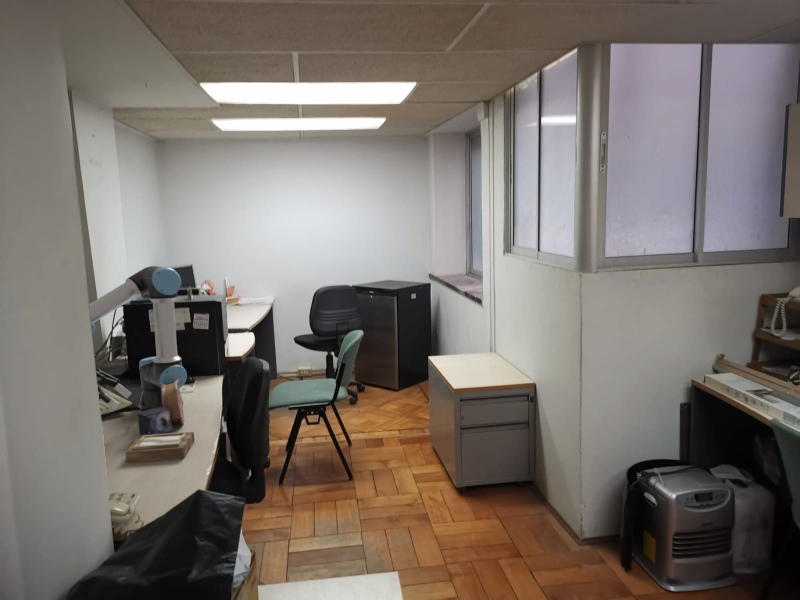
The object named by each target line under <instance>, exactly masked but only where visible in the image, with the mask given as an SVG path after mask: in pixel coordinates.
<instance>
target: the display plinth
mask: <svg viewBox="0 0 800 600" xmlns="http://www.w3.org/2000/svg"><path fill="white" fill-rule="evenodd" d="M194 441H195V431H183V432H172V433H167V434H153V435H143V436H140V435H139V436H138V438H136V439H135V440H134V441H133V443H132V444H131V445H130V446H129V447H128V449H126V451H124V455H125V461H126V464H128V463H129V464H130V462H133V463H143V462H144V461H146V462H157V460H159V461H169V459H171V460H182V459H183V460H184V459H185V458H186V456H187V455H188V453H189V451H190V450H191V449H190V448H192V447H193V445H194V444H195V442H196V441H195V442H194ZM193 443H194V444H193ZM191 446H192V447H191ZM144 463H145V462H144Z"/></svg>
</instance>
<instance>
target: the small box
mask: <svg viewBox="0 0 800 600" xmlns="http://www.w3.org/2000/svg"><path fill="white" fill-rule="evenodd" d="M137 420H138V430H139V431H138V432H139V436H143V435H153V434H167V433H171V432H172V427H171V421H170V409H169V408H166V407H163V406H159V407H155V408H152V409H149V410H146V411H142V410H141V411H139V412H137ZM172 433H173V432H172Z"/></svg>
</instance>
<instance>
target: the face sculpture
mask: <svg viewBox="0 0 800 600" xmlns="http://www.w3.org/2000/svg"><path fill="white" fill-rule="evenodd" d="M161 394H162V402H163V407H166V408H169V409H170V421H171V428H173V427H174V426H175V424H174V422H175V423H177V422H180V424H181V425H182V426H183V425H184V424H185V417H184V400H183V397H182V394H181V391H180V388H179V380H178V379H177V380H176V381H175V382H174V383H172V384H168V385H165V384H163V385H162V388H161ZM173 425H174V426H173ZM172 426H173V427H172Z"/></svg>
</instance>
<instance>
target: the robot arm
mask: <svg viewBox="0 0 800 600" xmlns="http://www.w3.org/2000/svg"><path fill="white" fill-rule="evenodd" d="M181 286H182V279H181V276H180V274H179V273H178V271H176V270H175V269H173V268H172V267H171V268H170V267H167V266H156V265H154V266H153V265H150V266H147V267H144V268H143V269H140V270H138V271H137V272H136V273H134V274H132V275H130V276H128V277H127V278H125V282H123V283H122V284H120V285H119V286H116V287H115V288H114V289H112V290H110V291H109V292H107V293H105V294H104V295H102V296H100V297H99V298H97V299H96V300H94V301H92V302H90V303H89V304H88V305H89V306H90V315H91V327H92V333H93V332H94V331H95V330H96V328H97V327H96V325H95V323H96V322H98V321H99V320H101V319H102V318H104V317H106V316H107V315H109V314H111V313H112V312H114V311H115V310H117V309H119V308H121V307H122V306H123V305H125V304H126V303H128V302H130V301H131V300H133V299H135V298H141V297H143V296H144V295H146V294H147V295H148V299H149V300H150V301H151V302H152V309H153V322H154V323H153V325H154V337H155V338H154V339H155V352H156V356H149V357H146V358H143V359H140V360H139V363H138V364H139V367H138V369H139V375H140V383H141V384H140V385H141V396H140V399H139V409H141V410H140V411H141V412H142V411H146V410H149V409H152V408H155V407H159V406H163V402H162V394H161V388H162V385H163V384H165V385H168V384H172V383H174V382H175V381H176V380H177V379H178V380H179V389H181V388H182V387H183V386H184V384H186V382H187V377H188V374H187V370H186V369H185V368H184V366H183V363H182V357H181V356H180V355H179V354H178V345H177V329H176V325H177V324H176V312H175V311H176V310H175V301H176V299H178V291H179V290H180V288H181ZM95 371H96V373H97V382H98V392H99V400H98V401H100V400H101V401H103V402H104V403H105V404H107V405H108V406H109V407H110V408H112V409H113V410H116V409H117V407H119V405H120V403H119V402H118V401H117V400H116V399H114V397H112V396H111V395H109V394H108V393H107V392H104V391H103V388H102V387H101V385H100V384H104V385H107V386H109V387H113V389H114V390H115V391H116V392H118V394H120V395H121V396H123V397H124V398H125V399H128V398H129V397H130V396H131V395H132V392H131V391H130V390H129V389H127V388H125V386H123V385H122V384H120V382H121V380H120V379H119V378H117V377H115V376H113V375H112V374H109V373H107V372H105V371H103V370H102V369H101V368H99V367H97V368H96V369H95Z"/></svg>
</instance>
